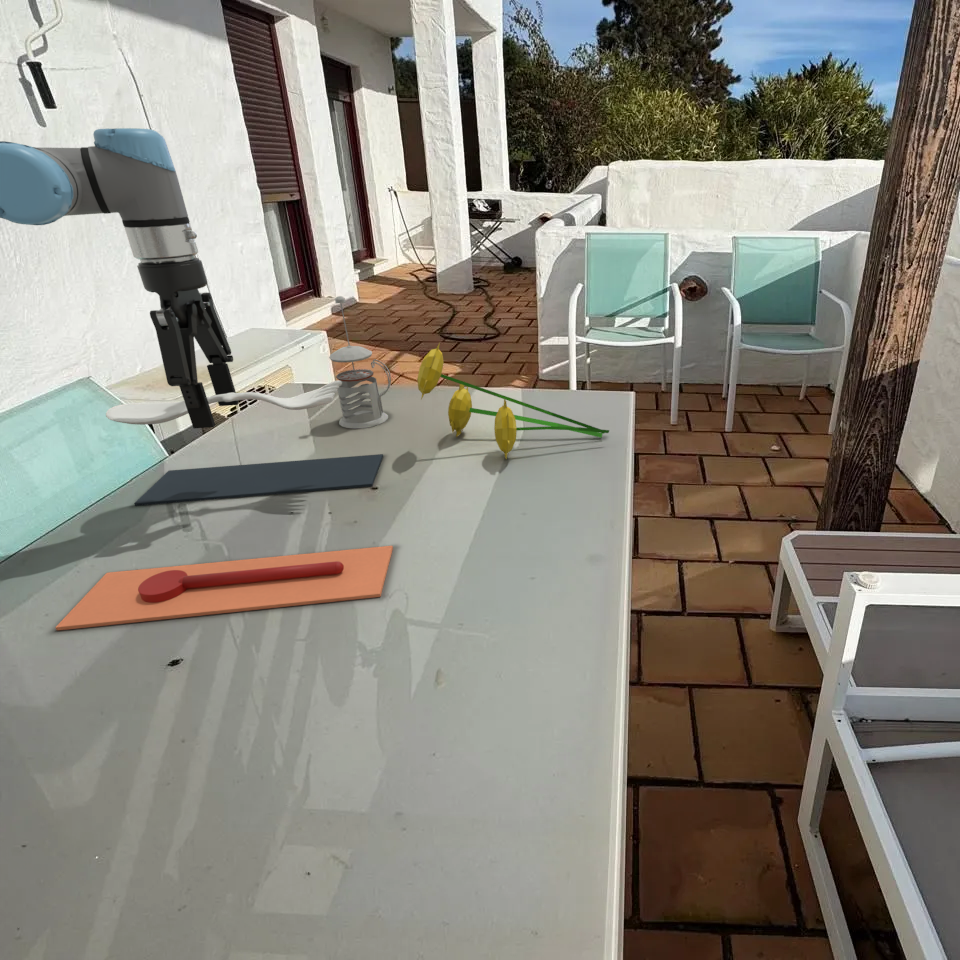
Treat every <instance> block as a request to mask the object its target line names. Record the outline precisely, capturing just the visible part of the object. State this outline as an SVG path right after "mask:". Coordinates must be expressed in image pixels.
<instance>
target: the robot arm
mask: <svg viewBox="0 0 960 960" xmlns="http://www.w3.org/2000/svg"><path fill="white" fill-rule="evenodd" d="M92 135H93V141H94V142H93V145H92V146H86V147H85V146H84V147H83V146H81V147H36V146H31V145H27V144H22V143H17V142H11V141H3V140H1V141H0V219H3V220H6V221H8V222H11V223H15V224H19V225H26V226H27V225H29V226H45V225H49V224H52V223H55V222H57V221H58V220H60V219H62V218H64V217H67V216H68V217H69V216H81V215H82V216H83V215H98V214H104V215H105V214H116V213H118V214H119V216H120V218H121V222H122V226H123V228H124V232H125V234H126V237H127V240H128V244H129V247H130V250H131V253H132V257H133V258H134V259H136V260H139V263H138V265H137V271H138V273H139V276H140V279H141V282H142V285H143V288H144V290H146V291H147V292H149V293H155V294H157V295H158V297H159V304H160V309H156V310H154V309H153V310H150V311H149V317H150V319H151V322H152V324H153V326H154V329H155V333H156V337H157V338H156V339H157V341H158V346H159V350H160V355H161V360H162V363H163V364H162V365H163V368H164V373H165V377H166V382H167V385H169V386H170V387H179V390H180V392H181V396H182V398H183V401H185V404H186V407H187V410H188V416H189V420H190V422H191V424H192V429H206V428H214V427H216V422H215V419H214V416H213V413H212V410H211V406H210V404H209V403H208V400H207V397H208V396H207V393H206V390H205V387H204V384H203V382H200V381H198V370H197V369H198V368H197V359H196V349H195V341H196V342H197V344H198V346H199V347H200V349H201V351H202V353H203V354H204V356H205V358H206V359H207V361H208V363H209V364H207V365H206V368H207V371H208V374H209V378H210V381H211V384H212V387H213V391H214V394H215V395H219V394H227V393H231V392H234V393H237V392H236V389H235V385H234V381H233V377H232V375H231V374H232V373H231V371H230V368H229V364H228V363H233V362H234V356H233V355H232V349H231V347H230V344H229V341H228V339H227V336H226V334H225V331H224V329H223V326H222V324H221V321H220V319H219V316H218V314H217V311H216V309H215V305H214V301H213V300H214V299H213V297H212V294H211V293H210V292H200V291H199V289H203V288H204V287H206V286H207V285H208V279H207V276H206V272H205V268H204V265H203V261H202V260H201V259H200V258H198V257H195V256H196V255H197V254H198V253H199V250H198V245H197V242H196V239H197V237H198V235H197V232H196V231H193V229H192V225H191V221H190V219H189V214H188V210H187V207H186V204H185V200H184V196H183V192H182V190H181V189H182V188H181V186H180V181H179V178H178V174H177V170H176V168H175V165H174V162H173V159H172V156H171V153H170V150H169V148H168V144H167V141H166V139H165V138H164V136H163V135H162V134H160V133H159V132H158V131H156V130H154V129H152V128H151V129H149V128H133V127H132V128H131V127H129V128H128V127H122V128H121V127H120V128H119V127H117V128H98V129H97V128H96V129H95V130H94V131H93V134H92ZM217 404H218V406H219V407H227V406H238V405H239V404H240V402H239V400H237V401H231V402H224V401H221V402H217Z"/></svg>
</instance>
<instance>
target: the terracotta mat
mask: <svg viewBox="0 0 960 960" xmlns="http://www.w3.org/2000/svg"><path fill="white" fill-rule="evenodd" d="M393 550H394V546H393V545H383V546H374V547H362V548H351V549H342V550H341V549H340V550H332V551H321V552H320V551H319V552H311V553H300V554H299V553H298V554H290V555H288V554H287V555H279V556H278V555H277V556H267V557H258V558H257V557H256V558H247V559H246V558H245V559H236V560H226V561H215V562H205V563H195V564H183V565H173V566H162V567H151V568H141V569H132V570H119V571H110V572H109V571H107V572H106V573H105V574H104V575H103V576H102V577H101V578H100V579H99V580H98V582H96V583H95V585H94V586H92V588H91V589H90V590H89V591H88V592H87V593H86V594H85V595H84V596H83V597H82V598H81V599H80V600H79V602H78V603H77V604H76V605H74V607H73V608H72V609H71V610H70V611H69V612H68V613H67V614H66V615H65V616H64V618H63V619H62V620H61V621H60V622H59V623H58V624H57V625H56V626H55V630H56V631H66V630H76V629H85V628H87V629H88V628H96V627H105V626H106V627H107V626H113V625H124V624H132V623H145V622H152V621H153V622H154V621H162V620H173V619H182V618H191V617H201V616H211V615H219V614H229V613H230V614H231V613H238V612H239V613H240V612H250V611H258V610H259V611H260V610H267V609H278V608H287V607H298V606H304V605H305V606H306V605H315V604H316V605H317V604H325V603H336V602H344V601H345V602H346V601H353V600H364V599H373V598H381V596H382V593H383V589H384V585H385V581H386V577H387V574H388V570H389V566H390V563H391V562H390V561H391V559H392V558H391V557H392V555H393ZM336 561H339V562H341V563H342V564H343V566H344V569H343V571H342V572H341V573H339V574H332V575H322V576H312V577H302V578H292V579H282V580H272V581H262V582H252V583H242V584H231V585H221V586H211V587H201V588H191V589H187V590H186V591H185V592H183V593H182V594H180V595H179V596H177V597H175V598H172V599H170V600H166V601H163V602H157V603H149V602H145V601H143V600H142V599H141V596H140V594H139V591H138V587H139V586H140V584H141V583H142V582H143V581H145V580H146V579H148V578H149V577H151V576H153V575H156V574H158V573H161V572H165V571H170V570H181V571H184V572H186V573H187V575H188V576H191V575H201V574H212V573H222V572H232V571H243V570H253V569H263V568H274V567H284V566H294V565H305V564H315V563H325V562H336Z"/></svg>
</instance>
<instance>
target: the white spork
mask: <svg viewBox="0 0 960 960" xmlns="http://www.w3.org/2000/svg"><path fill="white" fill-rule="evenodd" d="M341 385H342V381H340V380H338V379H337V380H334V381H331V382H329V383H326V384H325V385H323V386H321V387H319V388H316V389H313V390H310V391H307V392H303V393H300V394H297V395H295V396H292V397H278V396H273V395H270V394H266V393H261V392H254V391H246V392H236V393H234V392H231V393H227V394H219V395H216V394H215V395H210V396H206V397H207V400H208V403H209V405H211V404H214V403H218V402H221V401H224V402H231V401H237V400H238V401H245V400H256V401H262V402H266V403H269V404H272V405H275V406H277V407H279V408H282V409H285V410H289V411H290V410H291V411H297V410H298V411H301V410H307V409H313V408H316V407H321V406H324V405H327V404H330V403H332V402H333V401H334V397H335V395H336V393H338V391H337V389H338V388H339V386H341ZM186 415H189V413H188V410H187V407H186V404H185V401H184V400H178V401H141V402H140V401H139V402H129V403H123V404H117V405H114V406H112V407H109V408H108V409H107V410H106V412H105V417H106V419H108V420H110V421H113V422H115V423H121V424H129V425H136V426H137V425H138V426H139V425H141V426H142V425H145V426H146V425H158V424H163V423H167V422H171V421H173V420H176V419H179V418H182V417H184V416H186Z"/></svg>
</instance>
